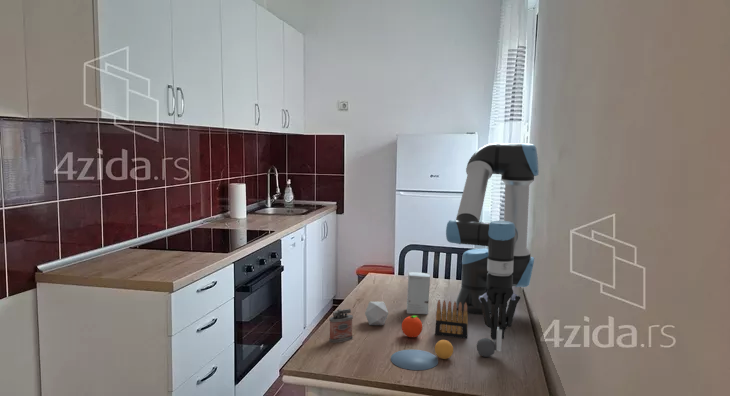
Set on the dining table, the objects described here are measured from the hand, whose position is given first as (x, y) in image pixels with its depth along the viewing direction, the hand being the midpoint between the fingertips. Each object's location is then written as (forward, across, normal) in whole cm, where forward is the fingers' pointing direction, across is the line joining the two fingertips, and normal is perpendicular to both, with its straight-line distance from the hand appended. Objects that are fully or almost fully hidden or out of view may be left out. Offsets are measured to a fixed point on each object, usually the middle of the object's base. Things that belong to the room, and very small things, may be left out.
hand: (496, 349), depth 150 cm
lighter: (+2, -45, +20) cm, 49 cm away
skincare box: (+2, -12, +43) cm, 44 cm away
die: (+2, -30, +32) cm, 44 cm away
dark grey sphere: (-1, -4, 0) cm, 4 cm away
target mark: (+2, -26, +1) cm, 26 cm away
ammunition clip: (+2, -8, +18) cm, 19 cm away
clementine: (+2, -21, +19) cm, 28 cm away
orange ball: (-1, -17, +1) cm, 17 cm away
